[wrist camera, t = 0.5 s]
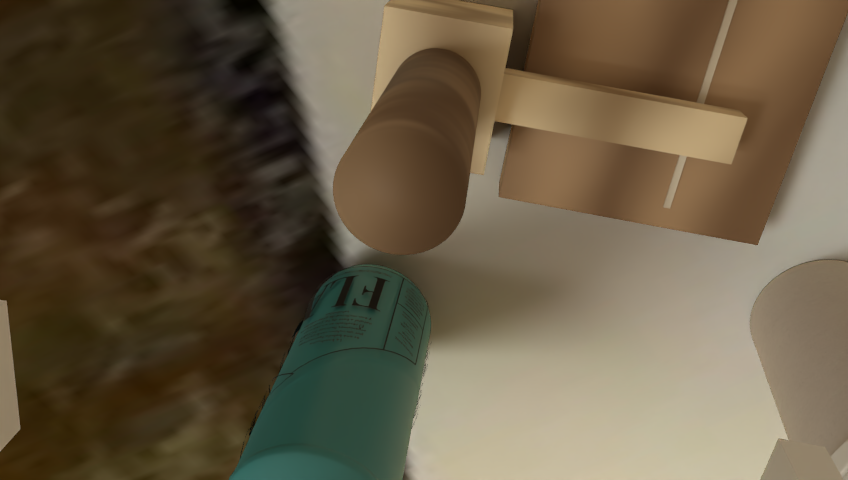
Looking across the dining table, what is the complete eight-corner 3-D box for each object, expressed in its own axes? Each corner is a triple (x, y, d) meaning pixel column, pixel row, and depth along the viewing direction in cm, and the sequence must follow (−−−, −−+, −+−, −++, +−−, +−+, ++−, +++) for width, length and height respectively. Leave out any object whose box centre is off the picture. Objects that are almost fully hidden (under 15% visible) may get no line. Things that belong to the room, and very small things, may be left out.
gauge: (383, 119, 36) (298, 274, 22) (401, -11, 34) (318, 67, 19) (696, 177, 36) (820, 374, 21) (738, 50, 33) (912, 176, 19)
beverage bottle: (409, 230, 39) (319, 533, 21) (456, 337, 41) (413, 693, 23) (296, 268, 40) (119, 579, 22) (347, 368, 42) (226, 723, 24)
